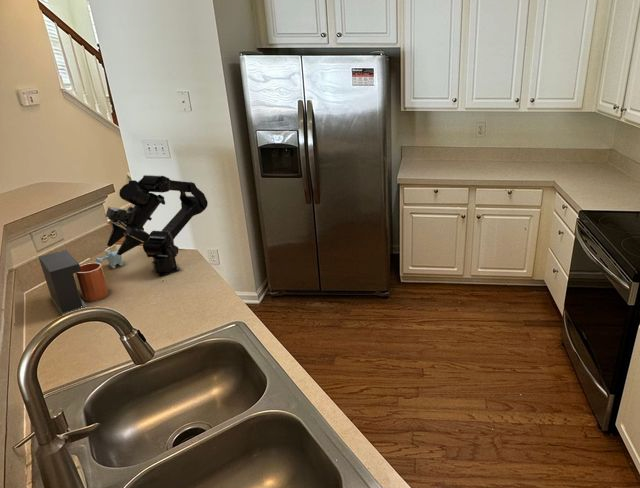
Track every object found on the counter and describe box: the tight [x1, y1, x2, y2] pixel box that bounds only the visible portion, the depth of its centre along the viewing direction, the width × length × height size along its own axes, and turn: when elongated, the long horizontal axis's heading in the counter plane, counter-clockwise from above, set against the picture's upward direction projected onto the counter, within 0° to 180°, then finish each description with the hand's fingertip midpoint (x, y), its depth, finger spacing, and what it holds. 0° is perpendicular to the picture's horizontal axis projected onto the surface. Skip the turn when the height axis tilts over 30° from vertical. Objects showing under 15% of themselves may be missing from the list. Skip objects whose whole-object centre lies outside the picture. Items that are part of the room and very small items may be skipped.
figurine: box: [95, 249, 124, 269], centre depth 155 cm, size 4×8×6 cm, turn 140°
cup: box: [75, 262, 109, 302], centre depth 136 cm, size 7×7×10 cm
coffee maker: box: [38, 249, 88, 316], centre depth 131 cm, size 7×14×15 cm, turn 49°
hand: (113, 250), depth 138 cm, fingers open, 9 cm apart
